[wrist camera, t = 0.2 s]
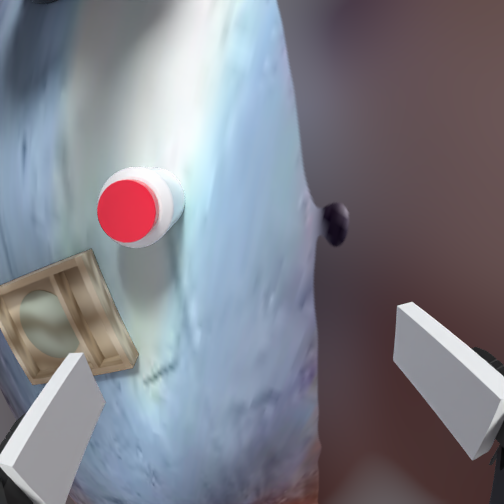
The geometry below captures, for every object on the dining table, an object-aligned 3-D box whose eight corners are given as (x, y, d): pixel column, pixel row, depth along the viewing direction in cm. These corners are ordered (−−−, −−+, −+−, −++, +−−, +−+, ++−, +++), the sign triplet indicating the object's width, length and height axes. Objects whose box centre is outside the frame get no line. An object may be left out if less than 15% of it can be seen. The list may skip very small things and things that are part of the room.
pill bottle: (111, 195, 35) (71, 206, 25) (158, 154, 35) (132, 147, 24) (149, 244, 37) (122, 272, 27) (198, 204, 37) (187, 218, 26)
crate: (-3, 286, 37) (-16, 294, 33) (91, 248, 37) (80, 255, 33) (41, 373, 41) (32, 385, 37) (138, 354, 41) (133, 368, 37)
